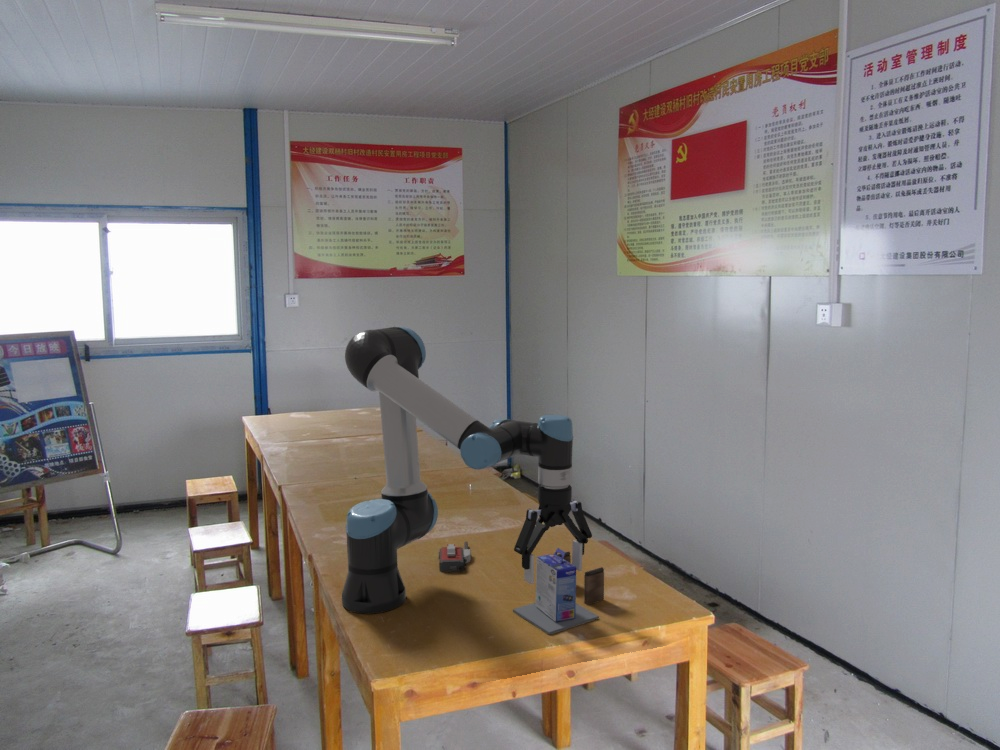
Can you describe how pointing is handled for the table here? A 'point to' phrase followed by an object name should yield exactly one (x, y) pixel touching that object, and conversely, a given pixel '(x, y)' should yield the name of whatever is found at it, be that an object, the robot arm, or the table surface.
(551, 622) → the grey mat
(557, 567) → the ink cartridge box
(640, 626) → the table surface
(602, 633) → the table surface
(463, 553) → the walkie-talkie
